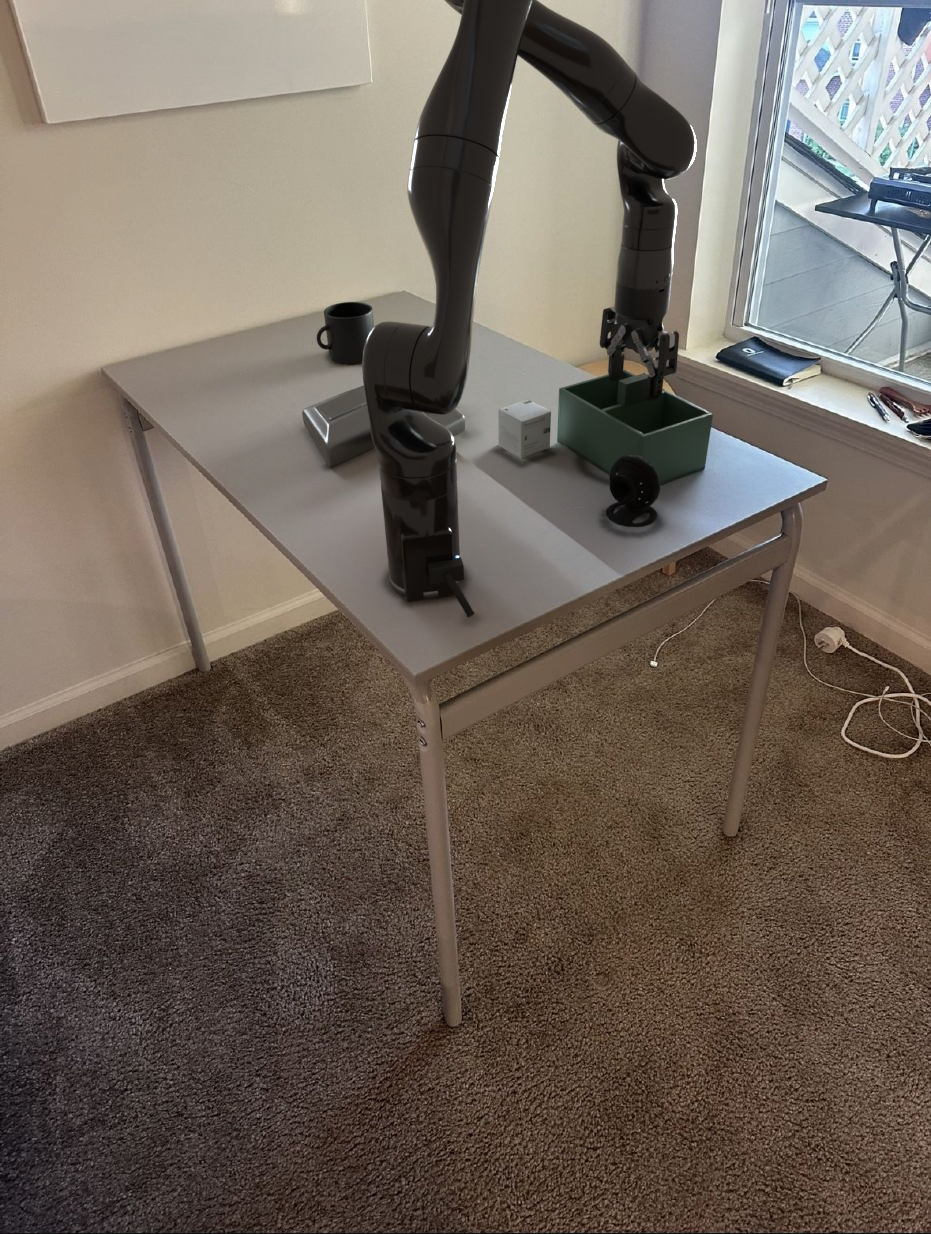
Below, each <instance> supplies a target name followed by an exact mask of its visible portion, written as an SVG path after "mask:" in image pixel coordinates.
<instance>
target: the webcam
mask: <svg viewBox="0 0 931 1234" xmlns="http://www.w3.org/2000/svg"><path fill="white" fill-rule="evenodd" d="M609 491H610V494H611V497H612V498H613V499H614V500H615V501H616V502H614V503H612V504H610V505H609V506H608V507H607V508H606V509H605V515H606V517H607V519H608V520H609V521H611V522H612V523H613V524H615V525H618V526H622V527H626V528H643V527H647V526H650V525H652V524H653V523H655V521H656V520H657V519H658V512H657V510H656V509H655V508H654V507H653V506H652V505H654V503H655V502H656V501H657V500H658V498H659V496H660V491H661V485H660V480H659V476H658V473H657V471H656V470H655V468H654V466H653V465H652V464H650V463H649V462H648V461H647V460H646V459H644V458H643V457H641V456H637V455H625V456H622V457H620V458H619V459H618V460H617V461H616V462H615V463H614V464H613V466H612V468H611V471H610V475H609ZM619 507H620V508H619ZM617 508H618V510H616V509H617ZM615 510H616V511H615ZM614 511H615V512H614ZM645 513H646V514H649V516H648V518H647V519H646V520H644V521H641V522H634V520H635V519H636V518H638V517H639V516H641V515H643V514H645Z"/></svg>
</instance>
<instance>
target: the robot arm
mask: <svg viewBox="0 0 931 1234" xmlns="http://www.w3.org/2000/svg"><path fill="white" fill-rule="evenodd" d="M444 2H445V3H446V4H447V5H449V7H450V8H452V10H454V11H455V12H456V13H458V14H459V15H461V16H460V21H459V25H458V29H457V32H456V35H455V39H454V41H453V44H452V46H451V49H450V51H449V53H448V55H447V58H446V60H445V62H444V64H443V65H442V68H441V70H440V72H439V74H438V76H437V78H436V80H435V82H434V84H433V86H432V88H431V90H430V92H429V94H428V97H427V98H426V101H425V103H424V106H423V108H422V111H421V113H420V115H419V118H418V123H417V126H416V128H415V133H414V138H413V143H412V151H411V157H410V164H409V170H408V177H407V185H406V186H407V188H406V192H407V193H406V194H407V200H408V205H409V208H410V211H411V214H412V218H413V220H414V222H415V226H416V227H417V231H418V233H419V236H420V239H421V241H422V243H423V246H424V248H425V250H426V253H427V256H428V259H429V262H430V265H431V269H432V272H433V277H434V284H435V311H434V319H433V324H432V325H428V324H420V323H412V322H406V321H405V322H404V321H396V320H383V321H380V322H378V323H376V324H374V327H373V328H372V330H371V331H370V333H369V335H368V337H367V339H366V342H365V346H364V351H363V362H361V363H362V364H361V368H362V383H363V385H364V391H365V397H366V403H367V409H368V415H369V422H370V429H371V436H372V441H373V445H374V449H375V452H376V454H377V459H378V468H379V480H380V491H381V501H382V511H383V521H384V522H383V523H384V531H385V532H384V533H385V544H386V554H387V561H388V581H389V582H388V583H389V585H390V587H391V588H392V589H393V591H394V592H396V593H398V594H399V595H401V596H404V597H405V599H406V602H414V601H420V600H421V601H422V600H428V599H436V598H443V597H449V596H454V597H455V599H456V600H457V602H458V603H459V605H460V606H461V608H462V610H463V612H464V613H465V615H466V617H467V618H470V617H472V616H474V615H475V611H474V610H473V608H472V606H471V605H470V603H469V602H468V599H467V597H466V596H465V595H464V593H463V591H462V590H461V588H460V587H459V585H460V583H461V582H462V581H465V565H464V561H463V559H462V557H461V549H460V521H459V496H458V468H457V467H458V465H457V464H458V463H457V443H456V439H455V437H454V436H453V435H452V433H451V432H450V431H449V430H448V429H447V428H445V427H444V426H442V425H441V424H439V423H437V422H436V421H434V420H433V419H431V418H430V417H428V416H427V415H426V414H425V413H432V414H440V415H446V414H449V413H451V412H452V411H454V410H455V408H456V407H457V408H458V406H459V404H460V401H462V397H463V394H464V392H465V388H466V384H467V380H468V373H469V366H470V360H471V359H470V357H471V349H472V341H473V330H474V321H475V319H474V318H475V308H476V300H477V290H478V283H479V282H478V281H479V274H480V268H481V260H482V254H483V248H484V242H485V238H486V237H485V236H486V232H487V227H488V223H489V217H490V211H491V207H492V202H493V199H494V198H493V197H494V193H495V186H496V182H497V175H498V169H499V164H500V163H499V162H500V157H501V151H502V150H501V149H502V142H503V137H504V136H503V134H504V128H505V122H506V119H507V118H506V117H507V114H508V108H509V102H510V98H511V92H512V86H513V81H514V76H515V70H516V65H517V61H518V57H519V58H520V59H522V60H523V61H524V62H525V63H527V64H529V66H531V67H532V68H533V69H535V70H536V71H537V72H539V73H540V75H542V76H543V77H544V78H546V79H547V80H548V81H549V82H551V84H552V85H554V86H555V87H556V88H557V89H558V90H559V91H560V92H561V93H562V94H563V95H564V96H565V97H566V98H567V99H568V100H569V101H570V102H571V103H572V104H573V105H574V106H575V107H576V108H577V109H578V110H579V111H580V112H581V113H582V114H583V116H585V118H587V120H589V121H590V122H591V124H593V125H594V127H596V128H597V129H598V130H599V131H601V132H603V133H604V134H606V135H608V136H610V137H613V138H614V139H616V140H617V145H616V168H617V175H618V184H619V192H620V198H621V202H622V209H623V213H622V223H621V235H620V246H619V251H618V255H617V264H616V275H615V276H616V277H615V278H616V279H615V291H614V292H615V293H614V305H613V306H610V307H606V308H603V310H602V317H601V327H600V335H599V336H600V337H599V346H600V348H601V349H605V350H606V354H607V356H608V365H607V367H608V368H607V375H608V374H609V379H610V380H612V381H615V380H618V379H621V378H622V376H623V370H624V365H625V354H624V352H625V351H626V350H627V349H628V350H632V351H633V352H635V353H636V354H638V355H639V357H640V361H641V362H642V363H643V364H645V366H646V370H647V374H648V375H649V376H648V378H647V388H646V399H647V400H649V401H652V400H656V399H658V398H659V397H660V396H661V394H662V389H664V379H665V377H666V376H670V375H673V374H676V373H677V371H678V370H677V369H678V356H679V343H680V333H679V332H678V331H677V330H674V331H668V330H665V329H664V324H663V321H664V318H665V316H666V315H667V313H668V312H669V309H670V308H669V307H670V299H671V298H670V297H671V289H672V280H673V271H674V255H675V254H674V246H675V245H674V244H675V235H676V229H677V228H676V227H677V216H678V205H677V203H676V200H675V199H674V198H673V197H672V196H671V195H670V194H669V193H668V192H667V190H666V188H665V183H664V181H665V180H674V179H676V178H678V177H680V176H681V175H683V174H684V173H685V172H687V171H688V170H689V168H690V167H691V165H692V164H693V162H694V160H695V157H696V152H697V139H696V134H695V132H694V129H693V127H692V125H691V124H690V122H689V121H688V120H687V118H686V117H685V116H684V115H683V114H682V113H681V111H679V110H678V109H676V107H675V106H673V105H672V104H671V103H669V102H668V101H667V100H665V98H663V97H662V96H661V95H660V94H658V93H657V92H655V91H654V90H653V89H651V88H650V87H649V86H648V85H646V84H645V83H644V82H643V81H642V80H641V78H640V77H639V76H638V74H637V73H636V72H635V70H634V69H633V68H632V67H631V66H630V65H629V64H628V62H626V60H625V59H624V58H623V57H622V56H621V55H620V53H619V52H618V51H617V50H616V49H615V48H614V47H613V46H612V45H611V44H610V43H609V42H608V41H607V40H606V39H604V38H603V37H602V36H600V35H599V34H597V33H595V32H594V31H593V30H591V29H589V28H587V27H585V26H584V25H582V24H579V23H578V22H576V21H574V20H571V19H570V18H568V17H565V16H563V15H562V14H559V12H556V11H555V10H552V9H551V8H549V7H548V6H546V5H545V4H543V3H542V2H540V1H539V0H444ZM609 334H610V335H609ZM653 349H654V351H655V352H652V353H650V352H651V351H653ZM654 361H656V364H657V366H656V365H655V362H654ZM667 363H668V364H667ZM423 412H425V413H423Z"/></svg>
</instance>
